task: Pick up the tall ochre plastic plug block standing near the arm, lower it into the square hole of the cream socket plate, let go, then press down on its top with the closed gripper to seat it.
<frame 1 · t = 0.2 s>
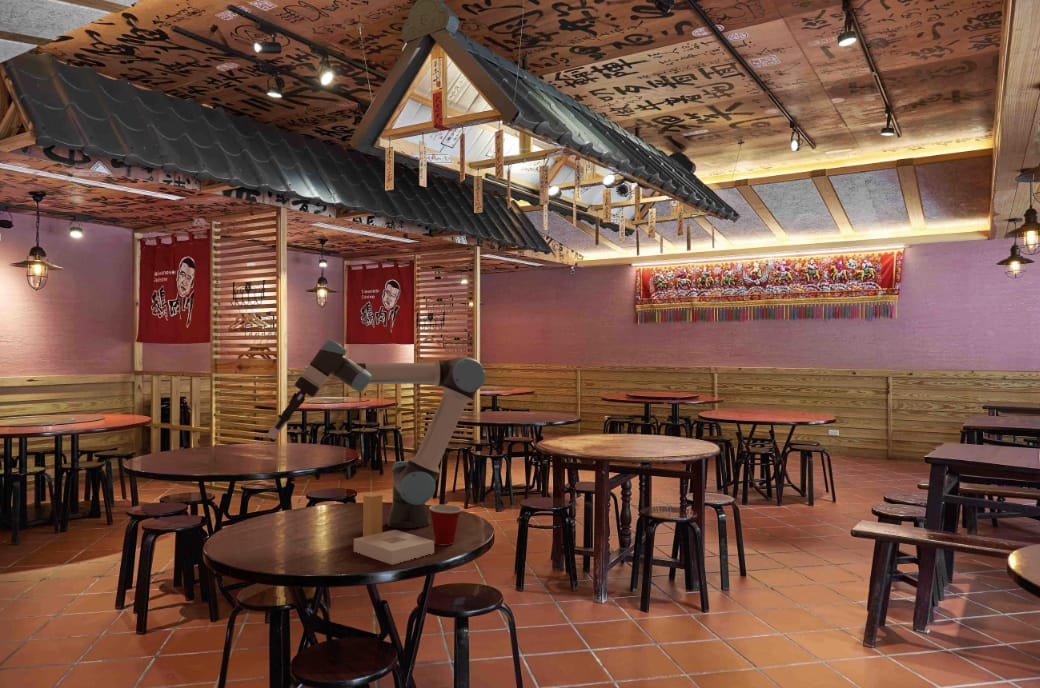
hand: (271, 435, 231), 35 cm above the table, tool tilted 35°, fingers open, 13 cm apart
plug block: (372, 540, 236), on the table
plastic cup: (445, 544, 232), on the table
socket plate: (393, 552, 222), on the table
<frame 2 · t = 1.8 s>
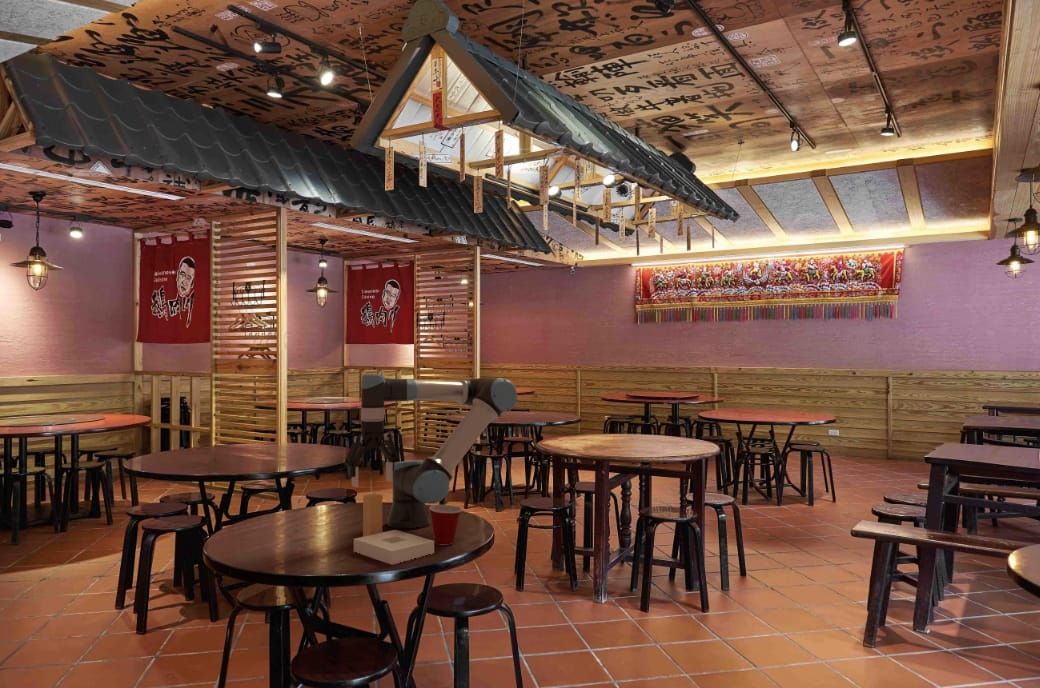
hand: (372, 484, 236), 19 cm above the table, tool pointing down, fingers open, 13 cm apart
nothing on the table moved.
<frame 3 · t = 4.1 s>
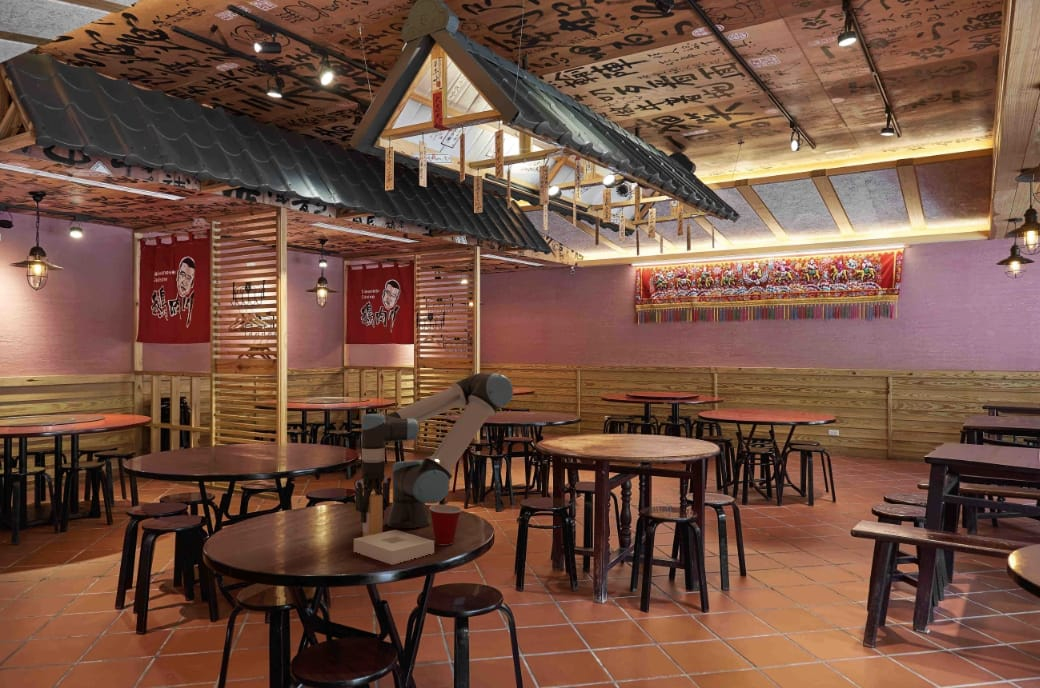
hand: (372, 530, 236), 3 cm above the table, tool pointing down, fingers closed on plug block, 4 cm apart
plug block: (372, 540, 236), on the table, touching gripper
everything else where it was.
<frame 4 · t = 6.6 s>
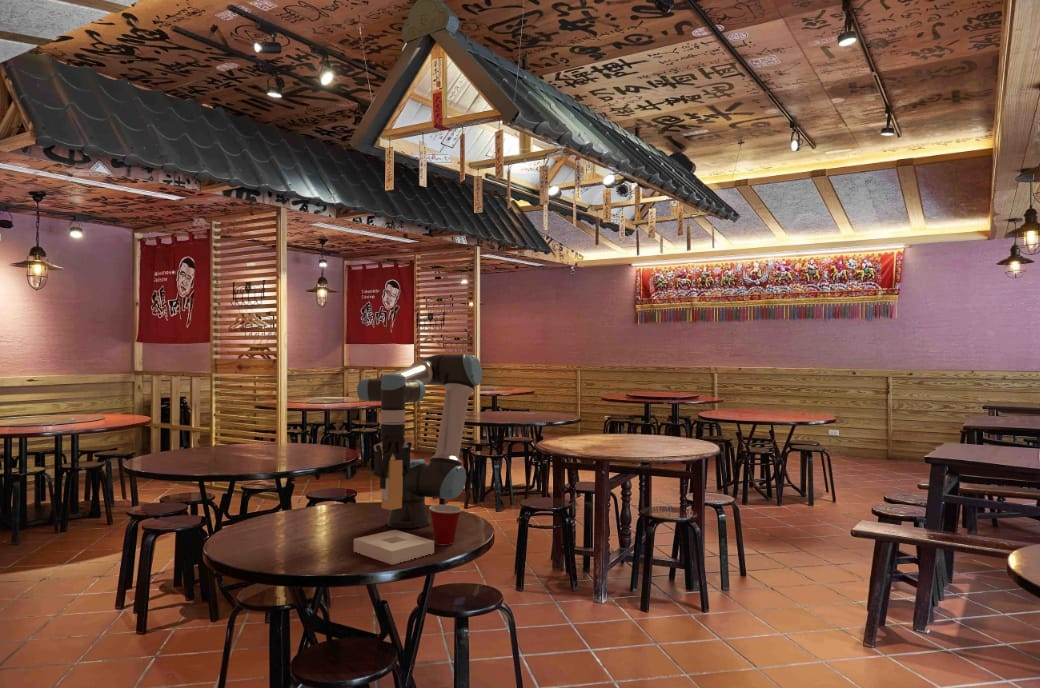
hand: (392, 497, 222), 17 cm above the table, tool pointing down, fingers closed on plug block, 4 cm apart
plug block: (391, 507, 222), point 14 cm above the table, touching gripper
everything else where it was.
when the fingers open (5 cm above the table, at t = 9.4 s): plug block drops 2 cm, resting in socket plate.
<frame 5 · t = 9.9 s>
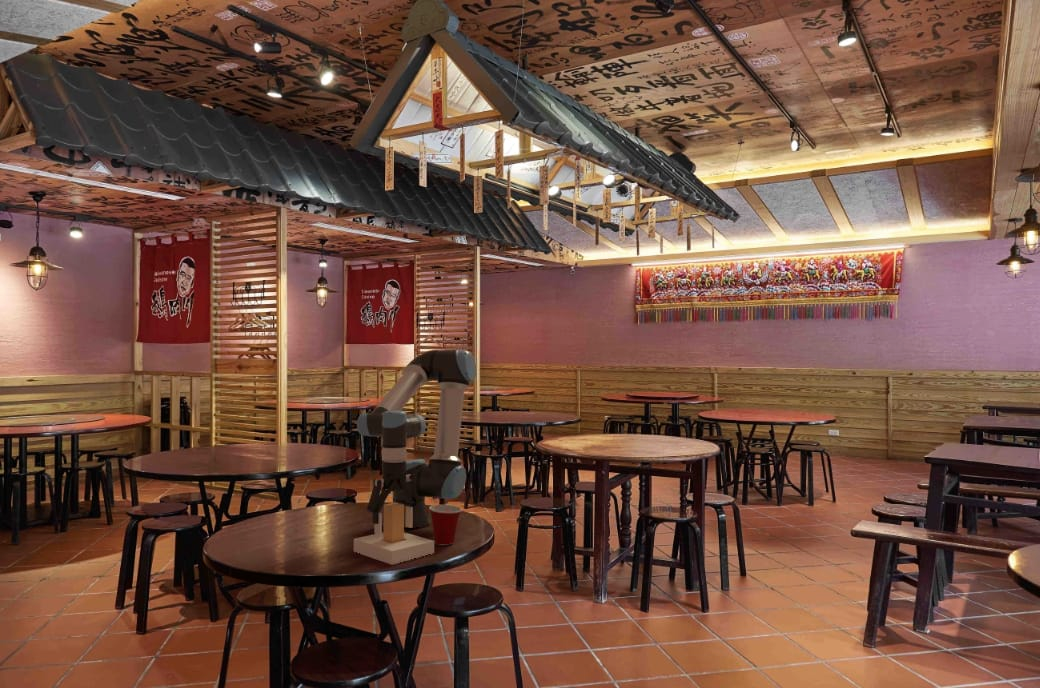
hand: (393, 530, 222), 7 cm above the table, tool pointing down, fingers open, 11 cm apart
plug block: (393, 552, 222), resting in socket plate
everything else where it was.
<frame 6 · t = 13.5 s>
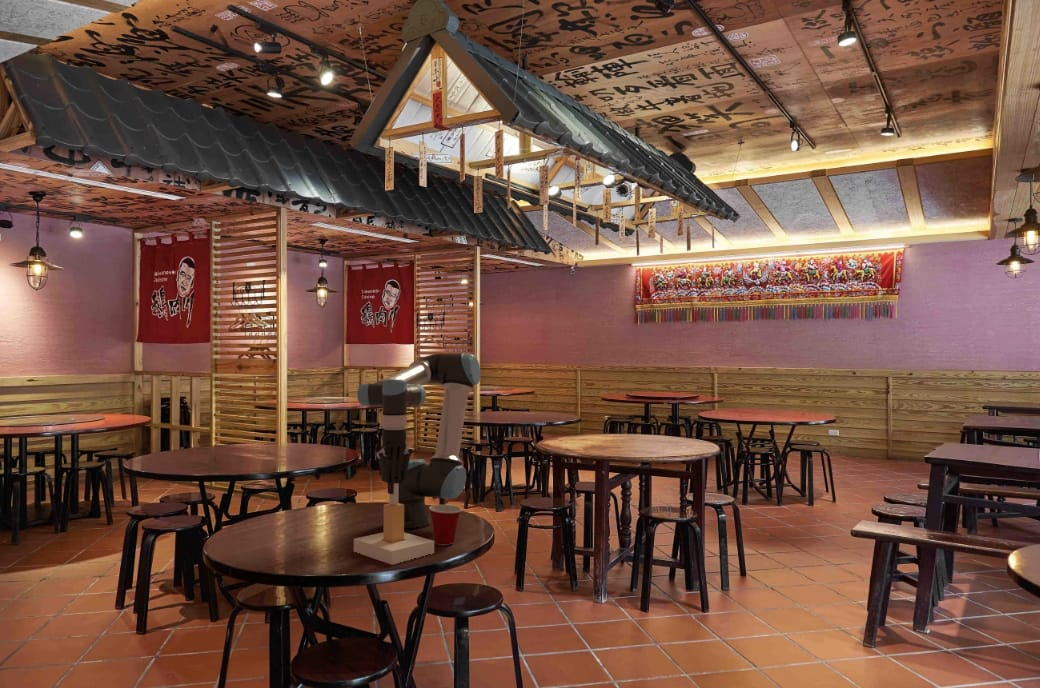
hand: (393, 503, 222), 15 cm above the table, tool pointing down, fingers closed
plug block: (393, 552, 222), resting in socket plate, touching gripper
everything else where it was.
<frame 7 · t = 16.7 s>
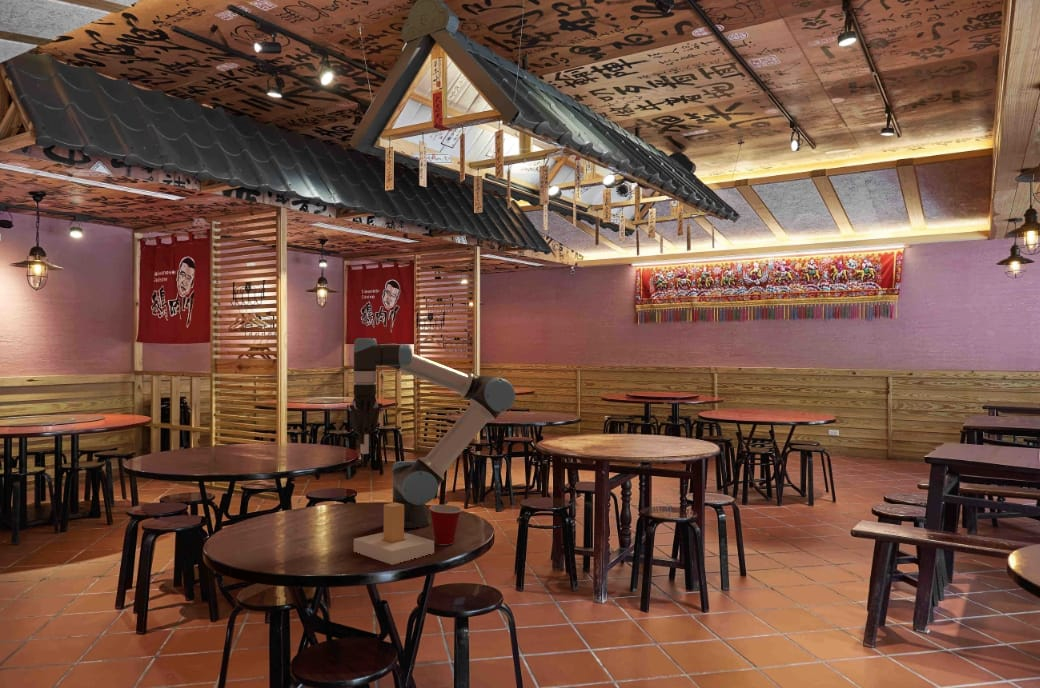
hand: (364, 453, 240), 28 cm above the table, tool pointing down, fingers closed
plug block: (393, 552, 222), resting in socket plate
everything else where it was.
at the end: plug block 0.1 cm off-centre on the socket plate, point 0.0 cm above the socket plate's base; plug block tilted 0°; the gripper is holding nothing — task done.
